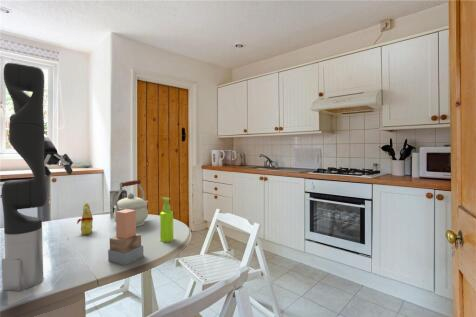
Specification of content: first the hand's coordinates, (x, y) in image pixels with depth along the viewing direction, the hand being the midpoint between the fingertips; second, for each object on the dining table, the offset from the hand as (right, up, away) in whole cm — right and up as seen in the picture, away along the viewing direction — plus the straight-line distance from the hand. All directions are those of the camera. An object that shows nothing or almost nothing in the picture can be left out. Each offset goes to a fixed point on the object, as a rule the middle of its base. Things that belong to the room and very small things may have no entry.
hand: (60, 174), depth 105 cm
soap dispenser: (+39, -32, +16) cm, 53 cm away
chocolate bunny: (-6, -32, +27) cm, 42 cm away
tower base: (+29, -33, -5) cm, 44 cm away
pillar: (+29, -24, -5) cm, 38 cm away
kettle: (+13, -31, +42) cm, 54 cm away
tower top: (+29, -29, -5) cm, 41 cm away
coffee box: (-4, -31, +60) cm, 67 cm away
